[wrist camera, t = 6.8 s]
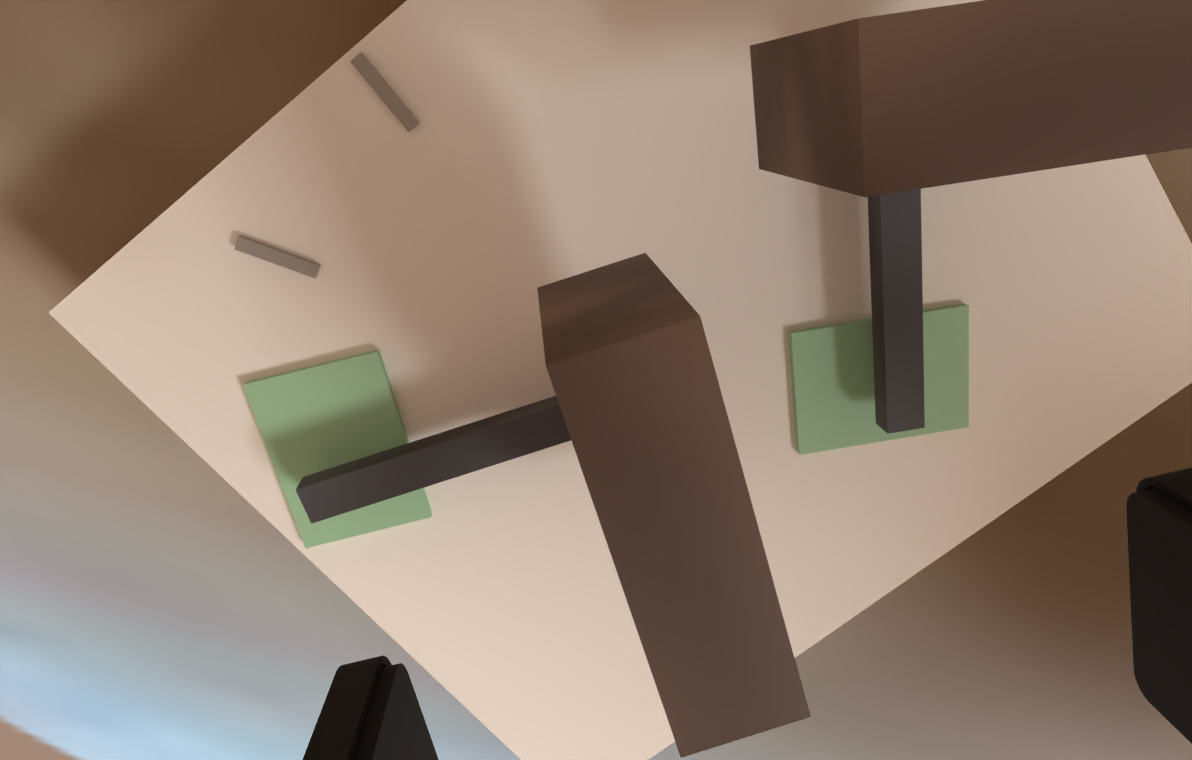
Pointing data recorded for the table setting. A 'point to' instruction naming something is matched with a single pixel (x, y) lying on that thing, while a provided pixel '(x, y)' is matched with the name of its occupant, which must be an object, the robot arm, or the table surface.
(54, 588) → the table surface
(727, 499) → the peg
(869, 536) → the board
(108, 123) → the table surface
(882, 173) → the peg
